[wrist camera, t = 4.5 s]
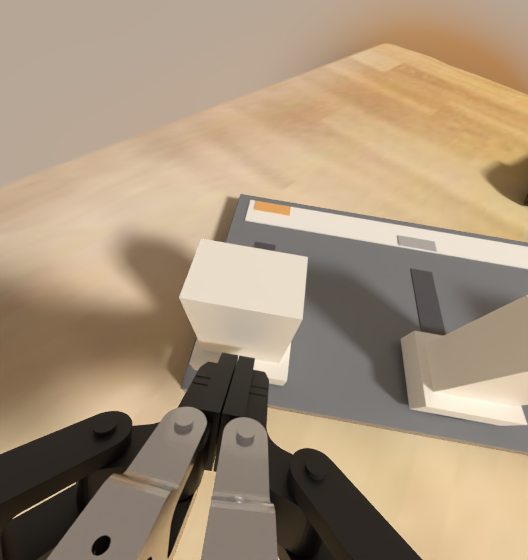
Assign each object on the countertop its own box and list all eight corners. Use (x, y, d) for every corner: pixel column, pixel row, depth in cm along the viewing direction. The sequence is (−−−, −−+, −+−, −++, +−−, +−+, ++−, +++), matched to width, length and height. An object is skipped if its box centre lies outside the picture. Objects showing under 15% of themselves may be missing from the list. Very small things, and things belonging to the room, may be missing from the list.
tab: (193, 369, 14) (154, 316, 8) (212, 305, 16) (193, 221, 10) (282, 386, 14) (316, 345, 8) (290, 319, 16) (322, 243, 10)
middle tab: (409, 409, 14) (551, 387, 8) (400, 338, 16) (505, 275, 10) (501, 426, 14) (723, 418, 7) (480, 352, 16) (640, 298, 10)
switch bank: (185, 392, 15) (179, 387, 14) (240, 207, 24) (240, 192, 22) (695, 486, 15) (744, 491, 13) (567, 262, 23) (589, 251, 22)
